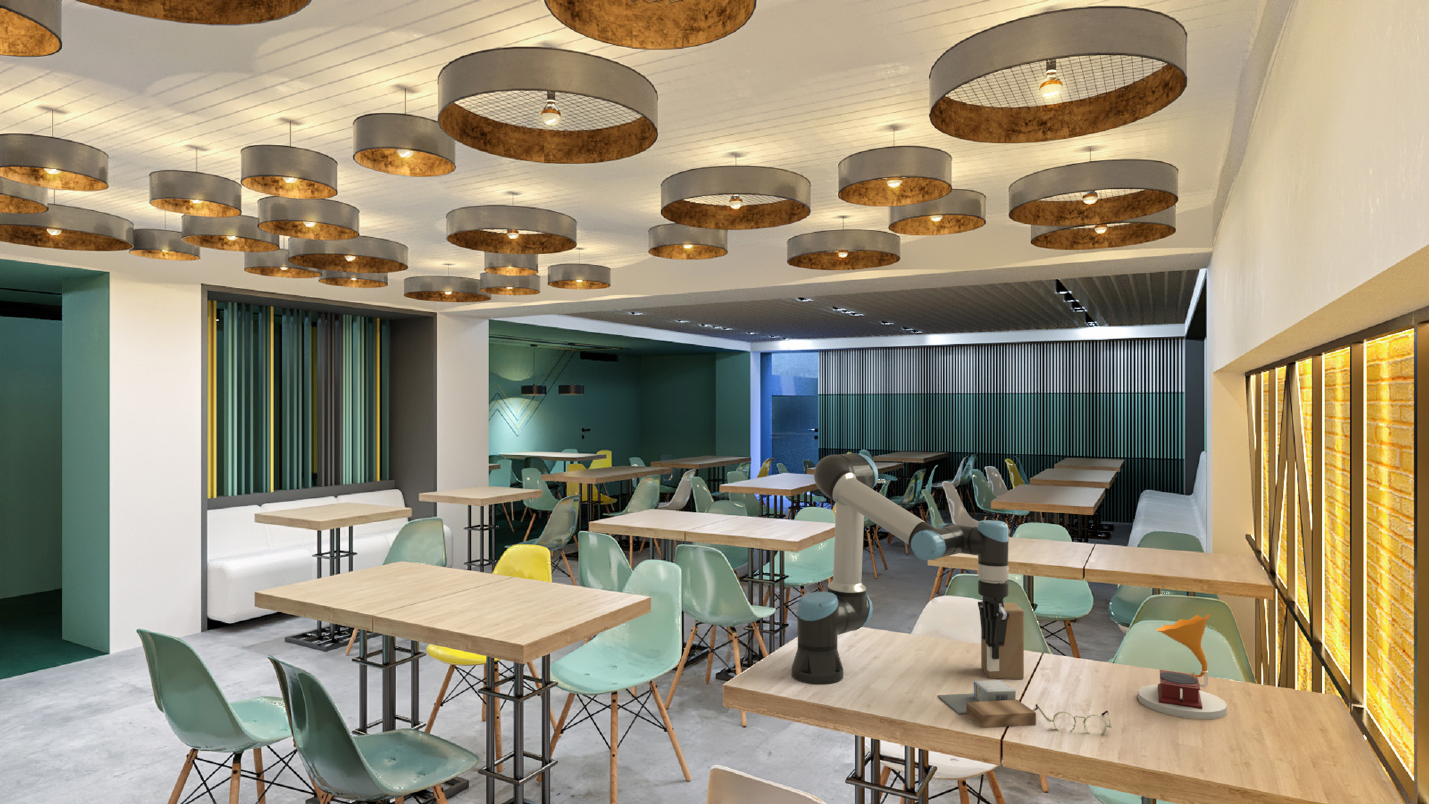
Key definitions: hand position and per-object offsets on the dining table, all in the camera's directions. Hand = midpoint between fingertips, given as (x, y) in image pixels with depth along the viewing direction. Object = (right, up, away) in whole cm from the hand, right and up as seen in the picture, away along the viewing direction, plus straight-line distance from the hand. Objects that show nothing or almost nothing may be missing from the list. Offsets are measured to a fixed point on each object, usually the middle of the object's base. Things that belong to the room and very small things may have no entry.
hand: (993, 670), depth 211 cm
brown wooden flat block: (-1, -10, -8) cm, 13 cm away
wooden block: (+12, -10, +28) cm, 32 cm away
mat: (-3, -10, +3) cm, 11 cm away
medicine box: (+2, -7, -1) cm, 8 cm away
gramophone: (+51, -10, +3) cm, 52 cm away
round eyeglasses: (+17, -11, -9) cm, 22 cm away
